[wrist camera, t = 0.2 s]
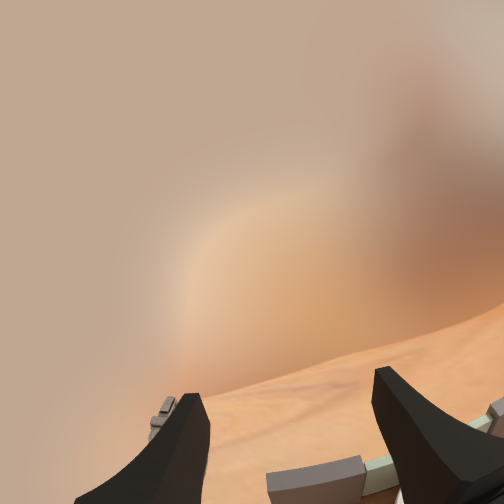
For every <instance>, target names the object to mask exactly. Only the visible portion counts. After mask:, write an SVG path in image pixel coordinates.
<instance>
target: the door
mask: <svg viewBox="0 0 504 504" xmlns="http://www.w3.org/2000/svg"><path fill="white" fill-rule="evenodd" d="M492 421H493V418H492V417H491V416H490V414H489V413H488V414H486V415H484V416H482V417H480V418H478V419H476V420H474V421H472V422H470V423H468V424H467V425H469V426H471V427H473V428H475V429H478V430H480V431H483V432H485V433H487V431H488V429H489V427H490V425H491V423H492ZM364 468H365V471H366V475H365V480H364V485H363V490H362V496H366V495H369V494H373V493H376V492H379V491H382V490H386V489H389V488H392V487H395V486H398V485H400V484H399V480H398V476H397V472H396V469H395V466H394V463H393V460H392V458H391V455H387V456H384V457H381V458H377V459H374V460H371V461H367V462H364Z"/></svg>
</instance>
